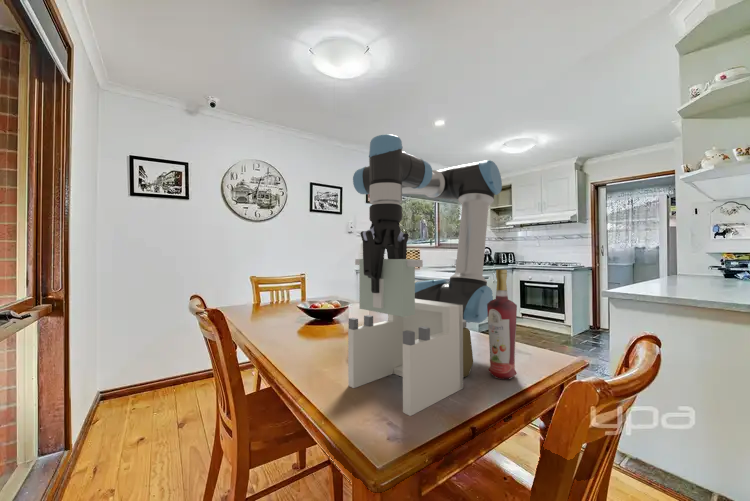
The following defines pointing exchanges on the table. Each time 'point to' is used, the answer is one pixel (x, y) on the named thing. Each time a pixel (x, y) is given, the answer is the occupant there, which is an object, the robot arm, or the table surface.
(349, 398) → the table surface
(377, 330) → the cabinet
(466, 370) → the squeeze bottle
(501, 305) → the liquor
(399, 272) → the door
